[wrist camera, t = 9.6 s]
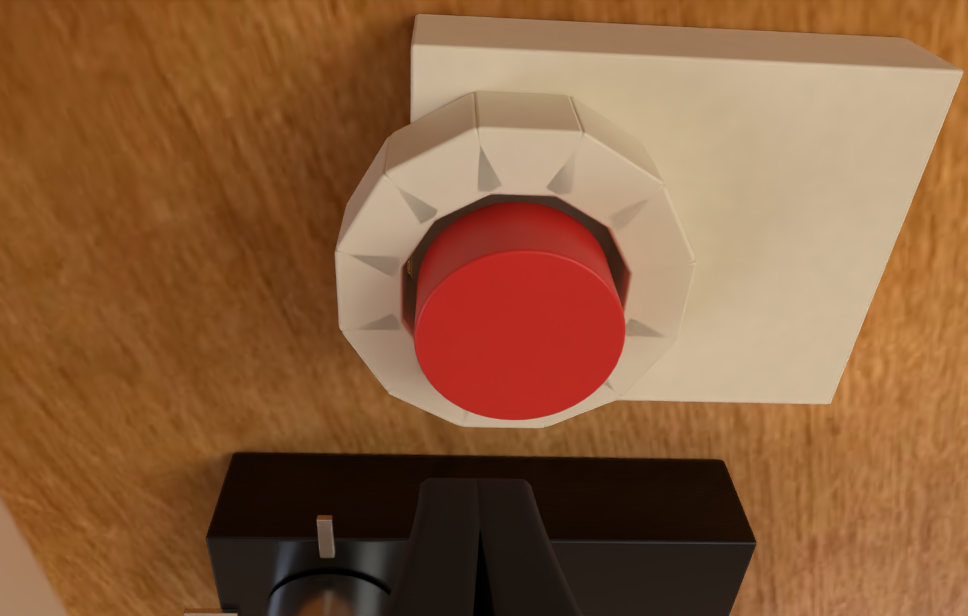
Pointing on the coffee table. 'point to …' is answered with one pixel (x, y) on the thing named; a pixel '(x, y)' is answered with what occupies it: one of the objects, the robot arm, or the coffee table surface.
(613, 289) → the button
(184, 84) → the coffee table surface
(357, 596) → the stove knob
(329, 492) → the stove panel
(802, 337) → the igniter
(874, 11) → the coffee table surface
